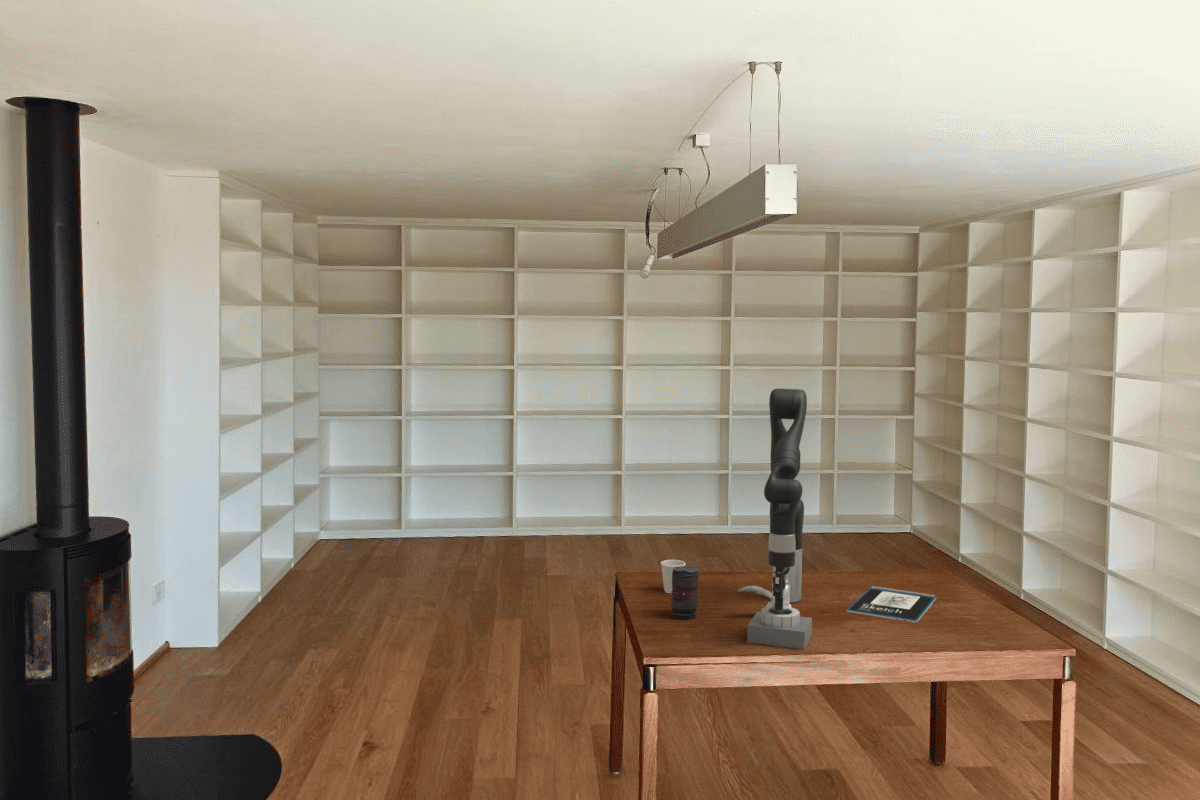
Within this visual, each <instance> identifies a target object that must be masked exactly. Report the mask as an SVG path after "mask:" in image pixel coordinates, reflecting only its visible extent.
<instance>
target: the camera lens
mask: <svg viewBox="0 0 1200 800" xmlns="http://www.w3.org/2000/svg"><path fill="white" fill-rule="evenodd" d="M698 587H699V569H698V568H696V567H695V566H688V565H685V566H677V567H674V568H673V571H672V592H671V594H670V595H671V608H672V609H671V611H672V613H673V617H674V618H675V619H677V618H678V619H677V620H683V619H687V620H692V619H694V618H695V617H696V613H697V612H698Z"/></svg>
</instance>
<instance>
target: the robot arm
mask: <svg viewBox="0 0 1200 800" xmlns="http://www.w3.org/2000/svg"><path fill="white" fill-rule="evenodd" d="M807 397H808V396H807V394H806V391H805V390H803V389H799V388H797V389H796V388H773V389H772V390H771V392H770V395H769V402H768V403H769V404H768V407H769V419H770V434H771V436H770V474H769V476H768V478H767V481H766V483H765V485H764V487H763V488H764V489H763V494H764V498H765V499H766V501H767V502H768V503H769V519H770V520H769V536H768V553H767V554H768V557H767V558H768V559H767V562H768V565H770V567H771V566H772V583H773V596H774V597H775V609H776V610H782V609H783V596H784V589H786V583H789V584H790V603H798V602H800V601H801V600H802V578H803V577H802V575H803V574H802V571H803V570H802V569H803V568H802V567H803V530H804V529H803V527H804V517H805V506H804V502H803V499H802V495H803V486H802V483H801V481H799V480H797V479H796V477H797V476H798V474H799V473H800V470H801V450H800V445H801V440H802V436H803V432H804V427H805V422H806V416H807V410H808V409H807V407H808V398H807ZM783 420H793V421H792V424H791V426H790V427H789V429H788V430H787V429H786V428H785V424H784V423H783ZM782 585H783V586H782ZM777 589H779V590H780V592H777Z"/></svg>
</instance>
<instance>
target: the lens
mask: <svg viewBox="0 0 1200 800" xmlns="http://www.w3.org/2000/svg"><path fill="white" fill-rule="evenodd" d="M782 586H783V585H782ZM777 592H780V590H779V589H777ZM771 593H772V600H771V602H772V613H773V614H779V615H788V614H789V605H790V604H791V602H790V584H789V583H786V589H784V596H783V609H782V610H776V609H775V597H774V596H773V582H772V583H771Z"/></svg>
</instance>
